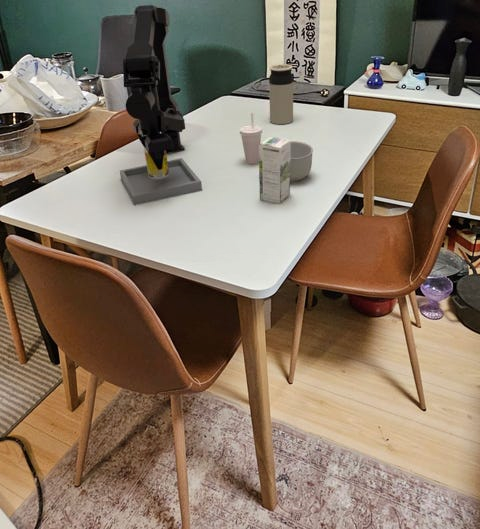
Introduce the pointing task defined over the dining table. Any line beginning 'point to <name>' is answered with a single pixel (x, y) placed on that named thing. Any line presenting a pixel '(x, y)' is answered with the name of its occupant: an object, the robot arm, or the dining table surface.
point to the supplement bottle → (152, 168)
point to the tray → (160, 182)
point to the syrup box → (274, 169)
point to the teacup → (300, 160)
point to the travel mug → (281, 94)
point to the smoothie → (251, 141)
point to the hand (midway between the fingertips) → (157, 165)
